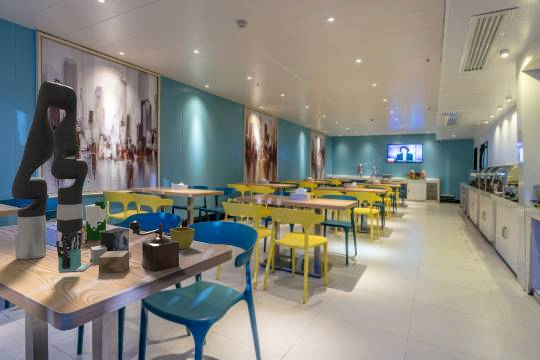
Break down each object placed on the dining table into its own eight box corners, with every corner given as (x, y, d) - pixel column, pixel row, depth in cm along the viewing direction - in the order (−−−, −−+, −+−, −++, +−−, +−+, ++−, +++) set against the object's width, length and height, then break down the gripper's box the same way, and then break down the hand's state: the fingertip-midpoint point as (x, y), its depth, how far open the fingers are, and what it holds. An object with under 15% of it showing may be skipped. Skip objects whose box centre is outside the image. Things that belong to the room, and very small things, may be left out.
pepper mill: (165, 259, 125) (165, 216, 124) (179, 266, 117) (179, 219, 117) (127, 268, 114) (127, 220, 113) (139, 275, 106) (139, 224, 106)
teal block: (58, 271, 102) (58, 253, 101) (65, 266, 107) (65, 249, 106) (74, 270, 103) (74, 253, 102) (81, 265, 107) (81, 249, 107)
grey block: (93, 250, 120) (90, 247, 125) (93, 262, 120) (90, 259, 125) (107, 248, 123) (104, 245, 128) (107, 260, 124) (104, 256, 128)
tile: (59, 272, 108) (59, 271, 108) (69, 265, 116) (69, 264, 116) (83, 271, 110) (83, 270, 110) (92, 264, 118) (92, 263, 118)
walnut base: (98, 274, 108) (98, 257, 107) (106, 267, 116) (106, 251, 115) (122, 273, 109) (122, 256, 109) (129, 266, 117) (129, 250, 117)
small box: (113, 257, 127) (112, 232, 127) (99, 256, 129) (99, 231, 129) (129, 251, 138) (129, 228, 137) (117, 250, 139) (117, 227, 139)
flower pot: (185, 244, 151) (185, 226, 150) (195, 247, 145) (195, 229, 144) (169, 247, 145) (169, 228, 144) (178, 251, 138) (178, 231, 138)
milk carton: (98, 241, 155) (97, 202, 154) (82, 240, 156) (81, 201, 156) (109, 237, 164) (109, 200, 163) (94, 236, 165) (94, 200, 164)
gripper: (67, 213, 110) (67, 259, 111) (46, 220, 96) (46, 273, 97) (90, 213, 112) (90, 259, 112) (72, 220, 97) (72, 272, 98)
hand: (70, 265), depth 104 cm, fingers closed on teal block, 5 cm apart
